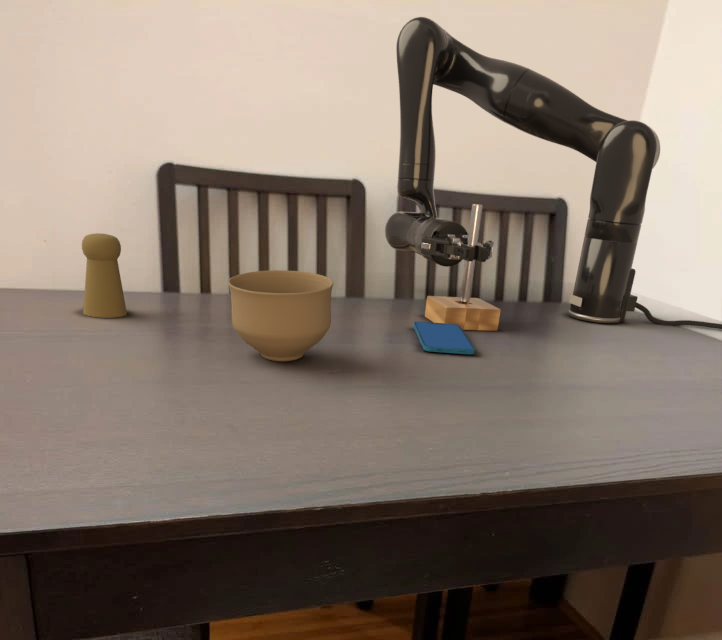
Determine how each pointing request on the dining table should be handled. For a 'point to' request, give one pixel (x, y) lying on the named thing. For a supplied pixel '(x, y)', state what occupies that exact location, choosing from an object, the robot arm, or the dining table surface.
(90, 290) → the game pawn piece
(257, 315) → the bowl
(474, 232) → the stylus
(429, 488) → the dining table surface
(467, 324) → the holder
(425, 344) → the smartphone
